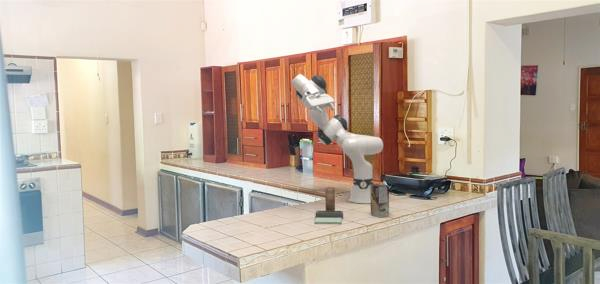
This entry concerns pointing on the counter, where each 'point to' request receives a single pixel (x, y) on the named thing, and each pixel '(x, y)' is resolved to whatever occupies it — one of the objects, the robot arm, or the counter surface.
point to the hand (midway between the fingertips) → (328, 111)
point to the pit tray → (329, 214)
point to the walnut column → (330, 198)
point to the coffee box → (379, 200)
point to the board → (328, 220)
